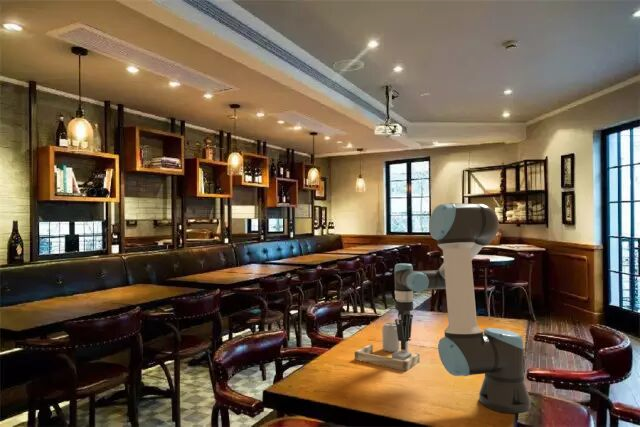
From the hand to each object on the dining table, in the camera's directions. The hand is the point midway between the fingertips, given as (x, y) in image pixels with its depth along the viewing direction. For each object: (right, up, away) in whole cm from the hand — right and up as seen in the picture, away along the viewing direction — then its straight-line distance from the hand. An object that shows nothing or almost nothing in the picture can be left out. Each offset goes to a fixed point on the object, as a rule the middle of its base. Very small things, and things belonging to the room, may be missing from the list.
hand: (404, 356), depth 179 cm
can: (-3, -2, +14) cm, 15 cm away
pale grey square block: (-2, -2, -3) cm, 4 cm away
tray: (-8, -2, -1) cm, 8 cm away
